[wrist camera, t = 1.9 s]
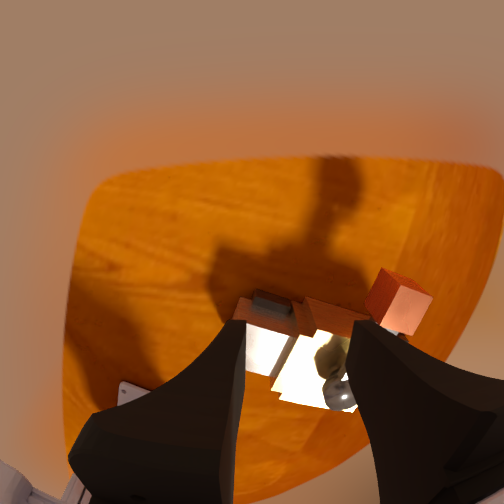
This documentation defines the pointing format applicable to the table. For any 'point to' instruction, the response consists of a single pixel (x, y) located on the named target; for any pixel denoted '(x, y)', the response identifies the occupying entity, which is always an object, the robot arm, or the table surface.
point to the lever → (389, 317)
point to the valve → (296, 343)
